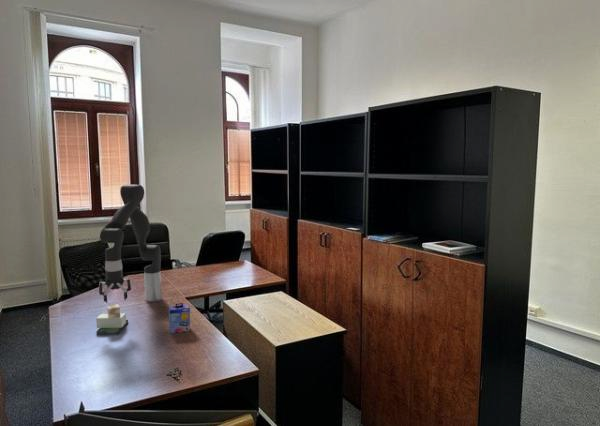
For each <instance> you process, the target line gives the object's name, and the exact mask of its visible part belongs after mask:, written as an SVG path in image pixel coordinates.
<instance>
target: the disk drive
mask: <svg viewBox="0 0 600 426" xmlns="http://www.w3.org/2000/svg"><path fill="white" fill-rule="evenodd" d="M128 324H129V319H126V324H125V325H124V326H123V327H122V328H97V330H96V336H118V335H119V334H120V333H121V332H122V331H123V330H124V329H125V327H126V326H128Z"/></svg>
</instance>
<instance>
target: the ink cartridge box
mask: <svg viewBox="0 0 600 426" xmlns="http://www.w3.org/2000/svg"><path fill="white" fill-rule="evenodd" d="M190 314H191V308H190V306H189V304H184V303H183V302H180V303H175V305H172V306H168V324H169V325H168V328H169V333H171V334H176V333H175V332H178V333H184V332H183V331H185V332H190V331H191V318H190V317H191V316H190ZM189 330H190V331H189Z"/></svg>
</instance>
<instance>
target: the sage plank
mask: <svg viewBox="0 0 600 426" xmlns="http://www.w3.org/2000/svg"><path fill="white" fill-rule="evenodd" d="M126 320H127V316H126V313H124V312H123V313H121V312H120V317H116V318H111V319H109V317H108V313H100V315H98V316H97V317H96V329H100V328H122V327H123V326H124V325H125V324H126Z"/></svg>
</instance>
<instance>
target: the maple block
mask: <svg viewBox="0 0 600 426" xmlns="http://www.w3.org/2000/svg"><path fill="white" fill-rule="evenodd" d="M106 307H107V314H108V317H109V319H111V318H116V317H120V313H121V307H120V305H119V304H117V303H116V304H111V305H107V306H106Z"/></svg>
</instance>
